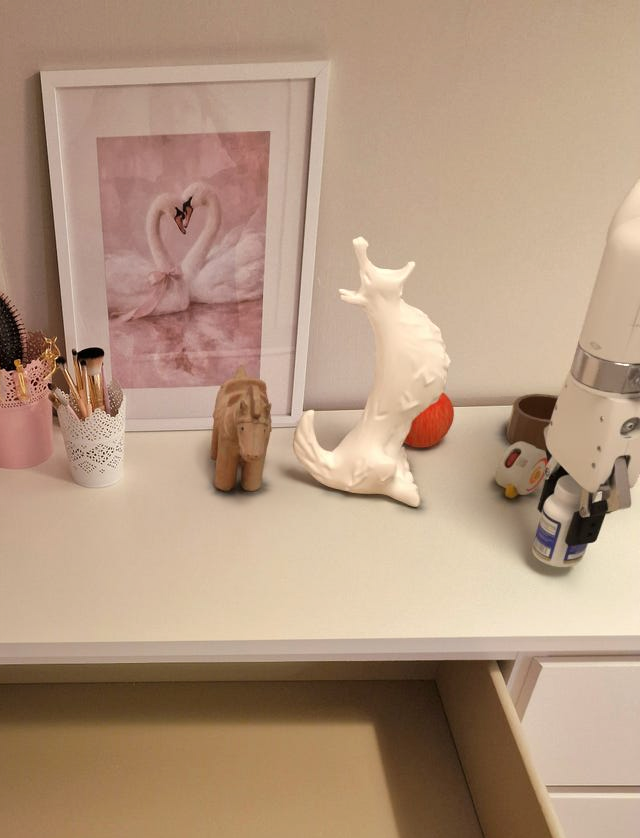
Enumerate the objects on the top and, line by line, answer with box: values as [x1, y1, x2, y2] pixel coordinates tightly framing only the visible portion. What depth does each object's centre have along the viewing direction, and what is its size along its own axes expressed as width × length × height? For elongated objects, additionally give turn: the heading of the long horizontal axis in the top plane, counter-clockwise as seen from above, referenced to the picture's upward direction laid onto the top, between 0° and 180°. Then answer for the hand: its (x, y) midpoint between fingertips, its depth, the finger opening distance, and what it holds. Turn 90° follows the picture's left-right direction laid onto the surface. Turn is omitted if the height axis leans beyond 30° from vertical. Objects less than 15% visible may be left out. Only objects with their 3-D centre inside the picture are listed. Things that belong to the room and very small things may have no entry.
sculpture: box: [292, 236, 452, 508], centre depth 100 cm, size 11×17×30 cm
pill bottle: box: [531, 475, 598, 568], centre depth 92 cm, size 5×5×9 cm
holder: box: [505, 393, 559, 451], centre depth 115 cm, size 8×8×4 cm
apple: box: [403, 391, 455, 448], centre depth 115 cm, size 8×8×8 cm
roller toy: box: [494, 441, 548, 499], centre depth 106 cm, size 4×6×6 cm
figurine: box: [209, 364, 273, 492], centre depth 107 cm, size 7×18×15 cm, turn 3°
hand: (565, 524), depth 92 cm, fingers closed on pill bottle, 5 cm apart
